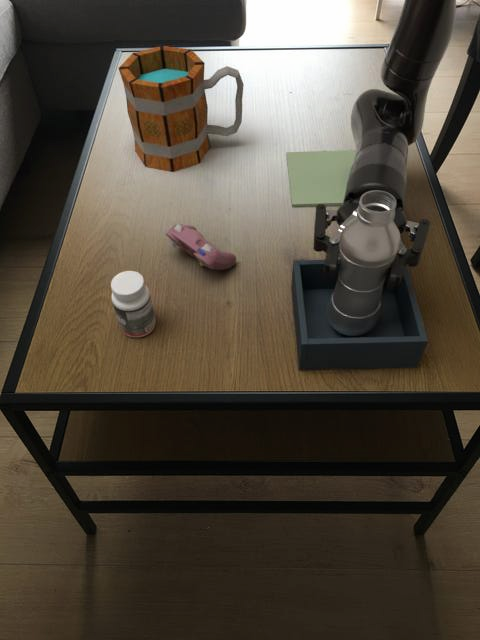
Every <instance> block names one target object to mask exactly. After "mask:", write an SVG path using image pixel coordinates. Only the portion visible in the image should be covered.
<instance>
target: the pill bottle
mask: <svg viewBox="0 0 480 640" xmlns="http://www.w3.org/2000/svg"><path fill="white" fill-rule="evenodd" d="M110 288H111V303H112V307H113V309H114V312H115V315H116V318H117V321H118V324H119V327H120V330H121V332H122V333H123V334H124V335H126V336H127V337H130V338H142V337H146V336H147V335H149V334H150V333H152V332H153V330H154V329H155V328H156V324H157V318H156V314H155V310H154V307H153V302H152V299H151V297H152V296H151V292H150V290H149V288H148V286H147V285H146V282H145V279H144V277H143V275H142V274H141V273H139V272H138V271H135V270H124V271H121V272H119V273H117V274H116V275H115V276H114V277H113V278H112V280H111V282H110Z"/></svg>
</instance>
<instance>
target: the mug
mask: <svg viewBox="0 0 480 640" xmlns="http://www.w3.org/2000/svg"><path fill="white" fill-rule="evenodd" d="M118 71H119V75H120V77H121V81H122V83H123V87H124V93H125V100H126V110H127V115H128V119H129V121H130V126H131V128H132V133H133V138H134V140H133V141H134V152H135V153H136V154H137V156H138V158H139V160H140V161H141V162H142V164H143V166H144V167H146V168H150V169H156V170H162V171H167V172H171V173H173V172H176V171H179V170H184V169H185V168H190V167H193V166H196V165H199V164H201V163H202V161H203V160H204V158H205V156H206V155H207V154H208V153H209V152H208V151H209V150H210V148H211V142H210V136H209V135H216V136H217V135H218V136H223V137H230V136H233V135H234V134H236V133H238V131H239V128H240V127H241V124H242V121H243V97H244V87H245V86H244V81H243V79H242V76H241V74H240V71H239V70H238V69H236V68H233V67H232V66H228V65H226V66H224V67H222V68H219V69H217V70H216V71H215V72H214V74H213V75H212V76H211V77H209V78H207V79H205V62H204V61H203V60H202V58H200V57H199V56H198V55H197V54H196V53H195V52H194V51H193V49H191V48H190V49H189V48H182V47H176V46H168V45H160V46H156V47H152V48H148V49H143V50H139V51H135V52H132V53H131V54H130V55H129V57H127V58H126V59H125V61H124V62H122V64H121V65H120V66H119V67H118ZM227 76H229V77H232V78H234V79H235V83H236V91H235V92H236V93H235V99H234V100H235V101H234V103H235V104H234V105H235V107H234V109H235V120H234V122H233V124H232V125H230V126H227V127H225V126H221V125H215V124H208V111H209V106H208V102H207V96H206V90H208V89H212V88H214V87H215V86H216V85H217V83H219V81H220V80H222V79H223V78H225V77H227Z"/></svg>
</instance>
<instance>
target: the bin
mask: <svg viewBox="0 0 480 640" xmlns="http://www.w3.org/2000/svg"><path fill="white" fill-rule="evenodd" d="M324 263H325V259H300V260H299V259H297V260H296V259H295V260H294V259H293V261H292V272H291V285H290V286H291V287H290V288H291V289H290V290H291V299H292V300H291V301H292V308H293V309H292V310H293V311H292V312H293V320H294V332H295V344H296V354H297V364H298V365H297V366H298V371H318V370H320V371H322V370H361V369H366V370H367V369H403V368H404V369H407V368H408V369H410V368H418V367H419V364H420V362H421V360H422V357H423V355H424V352H425V350H426V348H427V347H428V343H429V339H428V334H427V331H426V328H425V325H424V321H423V317H422V314H421V310H420V306H419V303H418V299H417V296H416V292H415V289H414V286H413V282H412V277H411V274H410V271H409V267H408V265H404V270H403V276H402V280H401V283H400V284H399V286H396V285H394V289H393V290H392V289H387V282H388V273H389V271H388V273H387V276H386V279H385V281H384V284H383V289H382V295H381V312H380V317H379V320H378V321H377V323H376V325H375V326H374V328H373V329H372V330H371V331H369V332H368V333H366V334H363V335H360V336H346V335H343V334H341V333H339V332H338V331H336V330H335V329H334V328H333V327H332V326H331V324H330V323H329V320H328V314H327V306H328V303H329V301H330V298H331V296H332V294H333V292H334V289H335V286H336V283H337V280H338V275H339V266H340V258H338V263H337V267H336V272H335V277H334V280H333V279H328V275H329V274H325V273H324Z"/></svg>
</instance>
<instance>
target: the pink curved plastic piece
mask: <svg viewBox="0 0 480 640" xmlns="http://www.w3.org/2000/svg"><path fill="white" fill-rule="evenodd" d="M165 235H166V236H167V237H168V239H169V240H170V241H169V242H168V243H169V245H170V247H172V248H176V246H178V247H180V248H181V249H182V250H183V251H184V252H186V253H187V254H188V255H190V256H191V257H192V258H196V260H197V261H198V262H199V263H198V264H199V266H201V267H204V266H205V267H206V268H207V269H210V270H227V269H230V268H231V267H232V268H233V266H234V265H236V262H237V256H236V254H234V253H233V252H227V251H221V250H220V249H218V248H217V247H215V246H214V244H212V243H211V242H209V240H207V239H206V238H205V237H204V235H203V234H202V233H201V232H200V231H198V229H197V227H195V226H194V225H186V224H183V223H179V222H178V223H176V224H175V225H173V226H171V227H170V228H169V229H168V230H167V232H165Z"/></svg>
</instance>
